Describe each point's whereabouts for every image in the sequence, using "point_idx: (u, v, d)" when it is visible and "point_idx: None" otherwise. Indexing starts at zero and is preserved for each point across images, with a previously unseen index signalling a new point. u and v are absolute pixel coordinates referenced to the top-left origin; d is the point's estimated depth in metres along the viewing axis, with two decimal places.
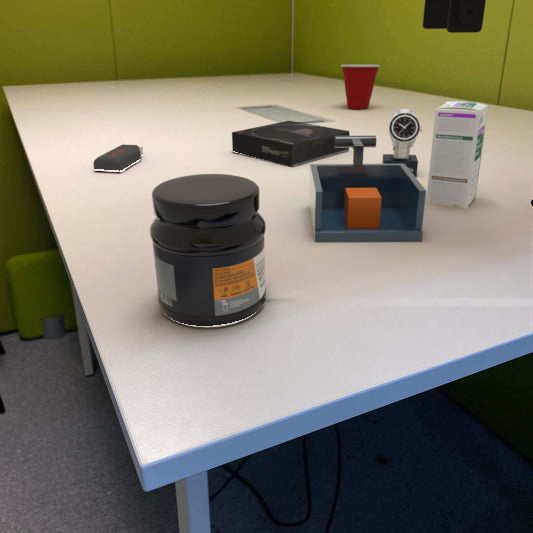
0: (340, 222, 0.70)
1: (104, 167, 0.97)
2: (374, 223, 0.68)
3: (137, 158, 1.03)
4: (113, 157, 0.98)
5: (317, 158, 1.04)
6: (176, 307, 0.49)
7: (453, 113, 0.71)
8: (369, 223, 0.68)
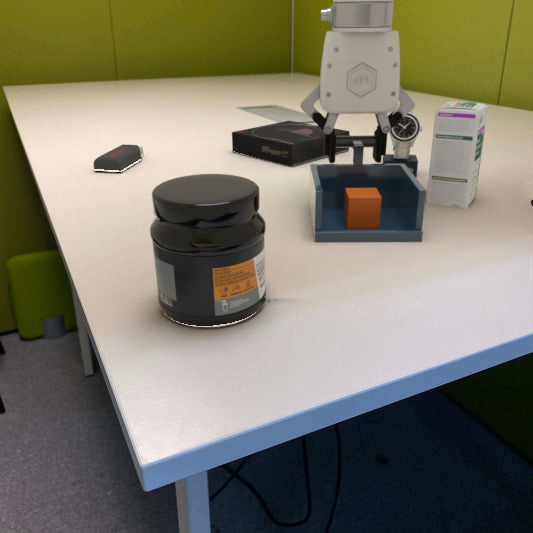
0: (340, 222, 0.70)
1: (104, 167, 0.97)
2: (374, 223, 0.68)
3: (137, 158, 1.03)
4: (113, 157, 0.98)
5: (317, 158, 1.04)
6: (176, 307, 0.49)
7: (453, 113, 0.71)
8: (369, 223, 0.68)
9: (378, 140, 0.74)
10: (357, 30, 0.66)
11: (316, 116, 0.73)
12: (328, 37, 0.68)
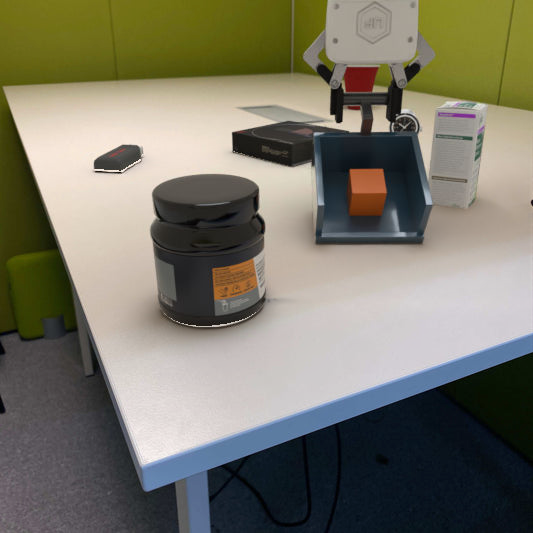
0: (342, 202, 0.68)
1: (104, 167, 0.97)
2: (377, 212, 0.66)
3: (137, 158, 1.03)
4: (113, 157, 0.98)
5: None
6: (176, 307, 0.49)
7: (453, 113, 0.71)
8: (372, 212, 0.66)
9: (392, 96, 0.64)
10: None
11: (321, 68, 0.64)
12: None
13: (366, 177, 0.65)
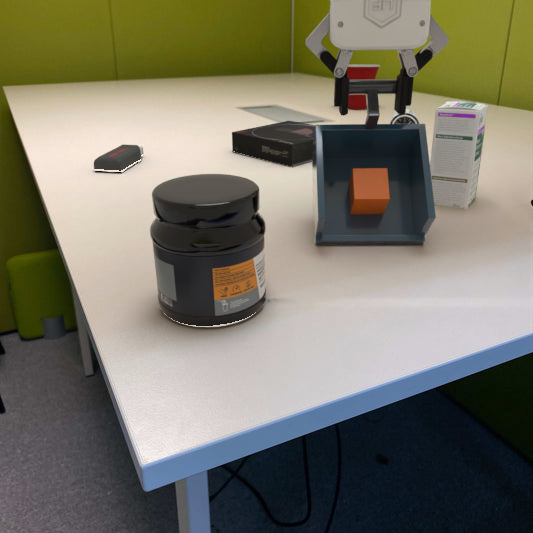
0: (343, 195, 0.67)
1: (104, 167, 0.97)
2: (379, 212, 0.65)
3: (137, 158, 1.03)
4: (113, 157, 0.98)
5: None
6: (176, 307, 0.49)
7: (453, 113, 0.71)
8: (373, 212, 0.65)
9: (402, 85, 0.59)
10: None
11: (325, 55, 0.59)
12: None
13: (369, 179, 0.63)
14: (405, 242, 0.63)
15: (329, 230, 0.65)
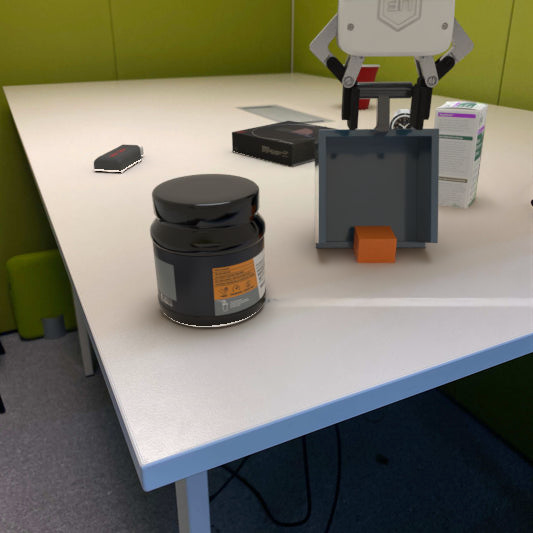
0: (346, 192, 0.64)
1: (104, 167, 0.97)
2: None
3: (137, 158, 1.03)
4: (113, 157, 0.98)
5: None
6: (176, 307, 0.49)
7: (453, 113, 0.71)
8: None
9: (420, 97, 0.52)
10: None
11: (332, 62, 0.51)
12: None
13: None
14: (405, 247, 0.63)
15: (330, 231, 0.64)
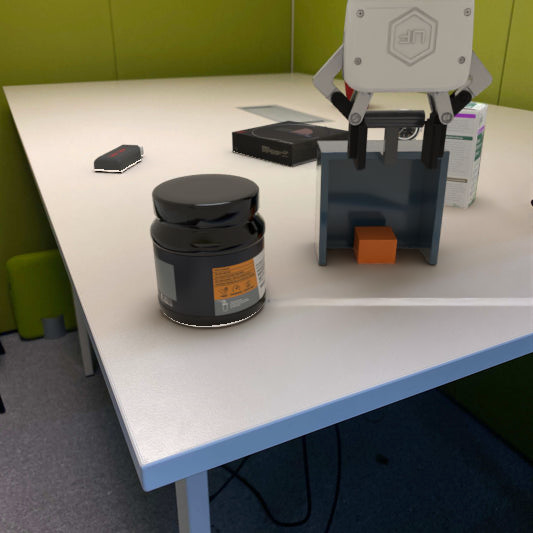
0: (348, 196, 0.62)
1: (104, 167, 0.97)
2: None
3: (137, 158, 1.03)
4: (113, 157, 0.98)
5: None
6: (176, 307, 0.49)
7: None
8: None
9: (433, 135, 0.47)
10: None
11: (337, 97, 0.47)
12: None
13: None
14: None
15: (330, 235, 0.64)
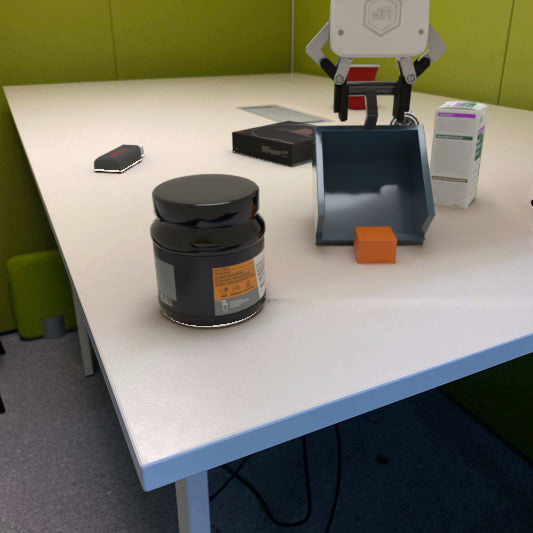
0: (343, 196, 0.67)
1: (104, 167, 0.97)
2: None
3: (138, 158, 1.03)
4: (113, 157, 0.98)
5: None
6: (176, 307, 0.49)
7: (453, 113, 0.71)
8: None
9: (401, 92, 0.60)
10: None
11: (325, 62, 0.60)
12: None
13: None
14: (405, 241, 0.63)
15: (329, 230, 0.65)
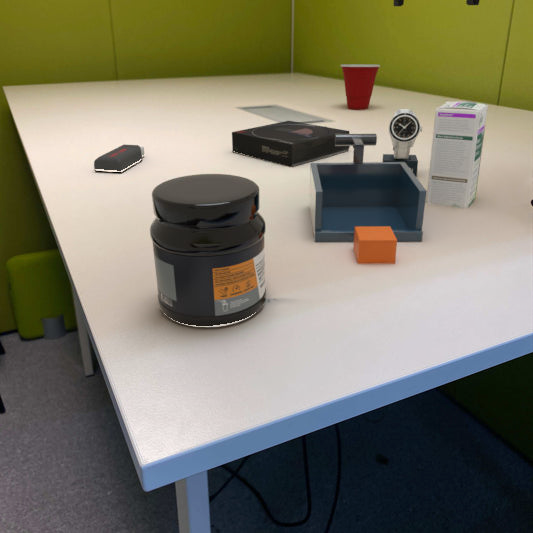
0: (340, 221, 0.70)
1: (104, 167, 0.97)
2: None
3: (138, 158, 1.03)
4: (113, 157, 0.98)
5: (317, 158, 1.04)
6: (176, 307, 0.49)
7: (453, 113, 0.71)
8: None
9: None
10: None
11: None
12: None
13: None
14: (404, 235, 0.64)
15: None
